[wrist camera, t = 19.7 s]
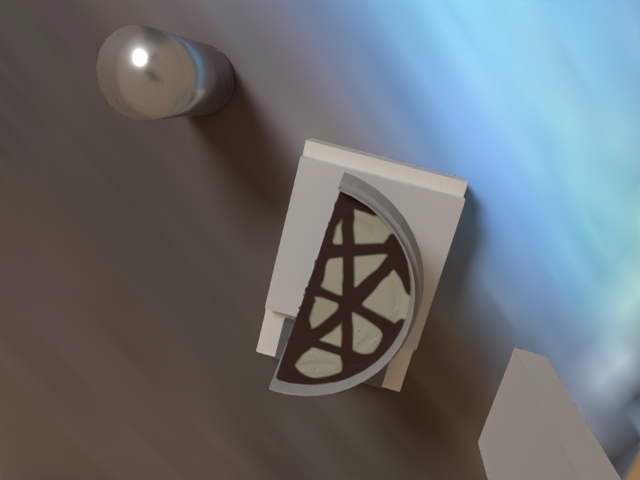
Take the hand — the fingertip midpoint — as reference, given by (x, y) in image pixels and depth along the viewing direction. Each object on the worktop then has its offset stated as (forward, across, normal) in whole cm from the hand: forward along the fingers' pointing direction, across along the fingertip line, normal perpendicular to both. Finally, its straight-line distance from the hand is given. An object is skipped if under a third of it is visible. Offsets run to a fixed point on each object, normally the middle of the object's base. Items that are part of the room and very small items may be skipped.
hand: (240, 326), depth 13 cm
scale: (+26, +3, -6) cm, 27 cm away
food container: (+23, +4, -5) cm, 24 cm away
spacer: (+26, -11, +4) cm, 29 cm away
